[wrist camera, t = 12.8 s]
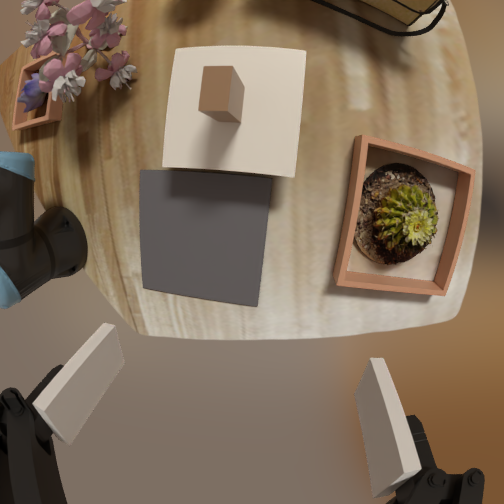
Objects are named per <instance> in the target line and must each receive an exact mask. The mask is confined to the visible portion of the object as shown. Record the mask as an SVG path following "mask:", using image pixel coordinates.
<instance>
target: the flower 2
mask: <svg viewBox="0 0 504 504" xmlns="http://www.w3.org/2000/svg"><path fill="white" fill-rule="evenodd" d="M58 2H59V0H28V1H24V2H23V3H24V4H23V3H21V4H23V6H22V7H24V9H22V10H20V11H21V13H22V14H29V13H30V12H32V11H33V10H35V8H37V7H38V10H37V13H36V15H35V17H36V20H37V23H35V22H34V26H33V25H31V24H30V23H28V21H26V23H27V24H29V25H30V26H32V29H31V30H33V31H31V32H30V31H26V33H25V34H26V39H27V40H25V41H21V43H22V44H23V45H24V46H25V47H26V48H27V47H29V46H31V45H33V44H35V45H34V47H33V49H32V51H31V55H32V57H33V59H35V58H40V55H44V56H47V55H48V54H49V53H51V52H52V50H53V51H54V52H56V53H58V54H59V55H56V56H53V57H51V58H50V59H48V60H47V61H46V62H45V63H44V64H43V65H42V67H41V68H40V69H39V79H40V81H39V87H40V90H41V92H46V93H48V92H51V91H52V100H54V101H56V99H57V96H58V95H59V97H60V99H61V100H62V101H63V103H64V102H66V97H65V95H66V96H67V97H68V98H69V102H70V98H71V99H72V101H73V102H74V98H73V96H72V93H73V94H75V95H77V96H78V95H79V94H80V93H81V87H78V86H82V87H84V84H85V81H86V80H85V78H84V77H79V76H80V74H81V72H83V71H86V70H87V69H88V68H89V67H91V66H92V65H93V64H94V63H95V62H96V61H97V52H99V53H100V54H101V55H102V56H103V58H104V59H105V60H106V61H107V62H108V63H109V65H108V70H106V69H102V68H98V69H96V73H95V78H96V79H97V80H98V81H102V80H106V79H108V78H109V77H111V76H112V77H111V80H110V85H111V87H112V88H113V89H115V90H116V87H117V88H118V87H119V89H122V87H121V86H122V83H125V84H126V85H127V86H128V88H129V89H130V90H131V89H132V88H130V87H129V85H128V84H127V83H126V82H127V81H128V80H126V79H125V78H127V79H129V80H131V79H132V78H131V76H132V75H131V72H136V73H137V70H136V67H135V66H133V65H127V66H124V65H125V64H126V62H127V61H128V59H129V57H130V56H129V54H128V53H127V51H122V54H120V53H116V54H114V55H112V61H110V60H109V59H108V58H107V57H106V56H105V55H104V54H103V53H102V52H101V51H100V50H103V49H105V48H106V47H107V46H108V47H109V48H113V47H115V46H117V45H119V42H120V40H121V38H120V36H119V35H120V33H121V34H122V35H124V36H125V35H126V31H127V30H126V28H127V26H125V25H121V23H122V21H123V18H120V20H119V21H118V22H116V19H117V18H118V17H116V14H117V13H116V14H113V15H112V12H111V13H110V15H109V17H108V18H106V17H105V16H106V15H108V13H109V12H110V11H114V10H115V6H116V5H119V4H122V3H125V2H127V0H86V1H85V2H82V3H80V4H78V5H76V6H74V7H73V8H72V9H71V10H70V9H68V8H66V7H63V6H61V5H59V4H57V3H58ZM53 5H56V6H58V7H60V8H59V9H58V10H57V11H55V12H54V13H53V14H51V13H50V11H49V9H48V8H47V7H48V6H53ZM111 15H112V18H111ZM91 17H92V18H91ZM89 18H91V19H90V21H89V23H88V24H87V26H86V27H85V29H87V30H92V29H93V30H92V31H91V32H90V34H89V36H90V37H91V38H90V40H88V39H86V38H85V37H84V36H83V35H82V33H81V31H80V29H79V27H78V26H79V24H83V23H85V22H86V21H87V20H88V19H89ZM49 23H50V24H51V25H50V24H49ZM49 25H50V26H49ZM75 34H76V35H77V36H78V37H79V38H80V39H81V40H82V41H83V42H84V43H82V44H79V45H77V46H75V47H73V48H71V49H69V46H70V44H71V42H72V39H73V37H74V35H75ZM28 38H29V39H28ZM85 45H86V46H87V49H90V50H89V51H88V52H87V53H86V55H85V56H84V57H83V59H82V60H81V56H80V55H79V54H77V53H71V52H74V51H75V50H77V49H79V48H81V47H83V46H85ZM68 49H69V50H68ZM96 51H97V52H96ZM68 53H69V54H68ZM65 54H68V56H67V60H66V64H65V69H64V66H63V64H62V61H63V57H64V58H65ZM48 80H50V81H48ZM47 81H48V82H47ZM128 82H129V81H128ZM120 85H121V86H120ZM63 92H64V93H65V95H64V93H63Z"/></svg>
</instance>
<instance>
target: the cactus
mask: <svg viewBox="0 0 504 504" xmlns="http://www.w3.org/2000/svg"><path fill="white" fill-rule="evenodd" d="M390 170H391V171H393V172H392V174H394V175H395V178H394V179H393V180H391V175H388V174H387V175H385V173H384V172H387V171H390ZM394 171H398V172H394ZM398 174H399V175H400V178H399V179H397V176H398ZM420 180H421V181H420ZM419 184H420V185H421V184H424V185H421V186H420V185H419ZM437 211H438V210H436V206H435V196H434V194H433V190H432V188H431V186H430V184H429V183H428V181H427V179H426V178H425V177H424V176H423V175H422V174H421V173H420V172H418V171H417V170H416V169H414V168H413V167H411V166H408V165H405V164H399V163H394V164H388V165H384V166H382V167H380V168H379V169H377V170H375V171H374V172H373V173H372V174H370V176H369V177H368V178H367V179H366V180H365V182H364V183H363V188H362V194H361V200H360V206H359V212H358V218H357V223H356V229H355V234H354V236H355V239H356V242H357V244H358V246H359V248H360V249H361V250H362V252H363V253H364V254H365V255H366V256H367V257H368V258H370V259H371V260H373V261H375V262H378V263H382V264H387V265H390V264H392V263H393V264H396V263H398V262H405V261H407V260H410V259H411V258H413V257H414V256H416V255H417V254H418V253H419V252H420V253H421V251H424V249H426V248H425V247H426V246H427V245H428V244H431V243H432V242H431V239H432V238H431V237H432V236H434V234H436V232H437V229H436V225H437V221H438V219H439V218H438V217H437V215H438V212H437ZM434 238H435V237H434ZM420 253H419V254H420Z"/></svg>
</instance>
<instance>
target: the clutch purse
mask: <svg viewBox="0 0 504 504" xmlns="http://www.w3.org/2000/svg"><path fill="white" fill-rule="evenodd" d="M312 1H315V2H317V3H320V4H322V5H324V6H326V7H329V8H331V9H333V10H335V11H338V12H340V13H343V14H345V15H347V16H350V17H352V18H354V19H356V20H358V21H360V22H362V23H365V24H367V25H369V26H371V27H374V28H376V29H378V30H380V31H383V32H385V33H387V34H390V35H394V36H417V35H421V34H424V33H427V32H429V31H430V30H432V29H433V28H434V27H435V25H436V24H437V23H438V22H439V20H440V19H441V18H442V16H443V14H444V12H445V9H446V6H449V3H448V1H447V0H445V1H447V3H448V5H447V4H446V3H445V1H444V0H361V1H363V2H365V3H367V4H369V5H371V6H373V7H375V8H377V9H379V10H381V11H383V12H385V13H387V14H389V15H391V16H393V17H395V18H396V19H398V20H400V21H402V22H403V23H405V24H407V26H411V25H412V24H413V23H415V22H416V21H417V20H418V19H419V18H420V17H421V16H422V15H424V14H430V13H431V12H432V11H433V10H435V9H436V8H437V7H438V6H439V5H440V4H442V7H441V10H440V12H439V13H438V15H437V16H436V18H435V19H434V20H433V21H432V23H431V24H430V25H429V26H428V27H426V28H424V29H421V30H418V31H413V32H395V31H391V30H388V29H386V28H383V27H381V26H379V25H377V24H375V23H372V22H370V21H368V20H366V19H363V18H361V17H359V16H357V15H354V14H352V13H350V12H348V11H345V10H343V9H341V8H338V7H336V6H334V5H332V4H330V3H327V2H325V1H323V0H312Z"/></svg>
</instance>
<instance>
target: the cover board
mask: <svg viewBox="0 0 504 504" xmlns="http://www.w3.org/2000/svg"><path fill="white" fill-rule="evenodd" d="M305 63H306V51H303V50H295V49H286V48H275V47H260V46H204V47H189V48H178V49H176V51H175V57H174V63H173V69H172V76H171V83H170V90H169V98H168V106H167V115H166V125H165V136H164V149H163V164H162V167H177V168H198V169H214V170H227V171H239V172H250V173H260V174H269V175H278V176H286V177H293V178H294V177H295V168H296V159H297V150H298V141H299V131H300V121H301V111H302V100H303V88H304V76H305Z"/></svg>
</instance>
